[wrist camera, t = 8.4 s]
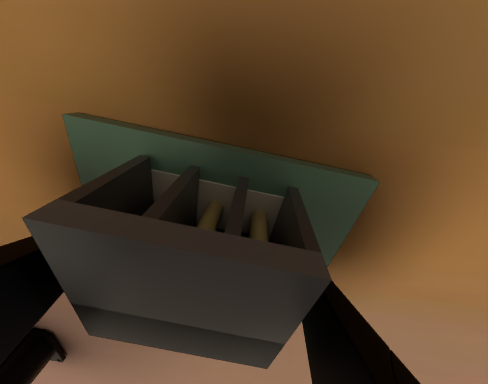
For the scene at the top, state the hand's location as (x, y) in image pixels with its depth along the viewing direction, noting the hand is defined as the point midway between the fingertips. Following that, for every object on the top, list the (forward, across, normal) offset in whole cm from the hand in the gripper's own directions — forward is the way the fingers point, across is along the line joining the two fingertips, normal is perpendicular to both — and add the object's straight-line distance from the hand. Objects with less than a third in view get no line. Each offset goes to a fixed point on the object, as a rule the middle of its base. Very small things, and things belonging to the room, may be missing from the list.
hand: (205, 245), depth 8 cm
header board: (+3, 0, +6) cm, 7 cm away
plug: (+2, 0, 0) cm, 2 cm away
